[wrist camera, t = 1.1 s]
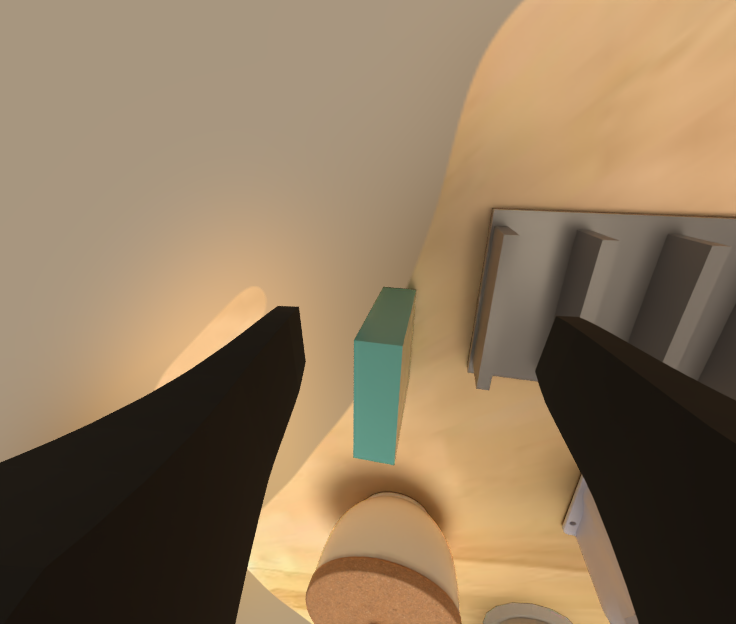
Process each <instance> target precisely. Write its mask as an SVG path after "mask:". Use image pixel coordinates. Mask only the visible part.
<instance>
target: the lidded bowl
mask: <svg viewBox="0 0 736 624" xmlns="http://www.w3.org/2000/svg"><path fill="white" fill-rule="evenodd" d="M306 605H307V610H308V612H309V615H310V617H311V619H312V621H313V622H314V624H461V616H460V610H459V593H458V584H457V577H456V570H455V565H454V561H453V557H452V554H451V551H450V548H449V545H448V543H447V540H446V538H445V536H444V535H443V533H442V531H441V530H440V528H439V526H438V525H437V524H436V523H435V521H434V520H433V519H432V518H431V517H430V516H429V515H428V513H427V511H426V510H425V509H424V507H423V506H422V505H420V504H419V503H418V502H417V501H415V500H414V499H412V498H410V497H408V496H405V495H402V494H399V493H394V492H381V493H377V494H374V495H372V496H370V497H369V498H367V499H366V500H364V501H362V502H360V503H358V504H356V505H354V506H353V507H352V508H351V509H349V510H348V511H347V512H346V513H345V514H344V515H343V516H342V517H341V519H340V520H339V521H338V522H337V524H336V525H335V527H334V528H333V530H332V532H331V534H330V535H329V537H328V540H327V542H326V544H325V546H324V548H323V551H322V553H321V556H320V559H319V561H318V564H317V567H316V570H315V573H314V574H313V576H312V578H311V581H310V583H309V586H308V589H307V592H306Z"/></svg>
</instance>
